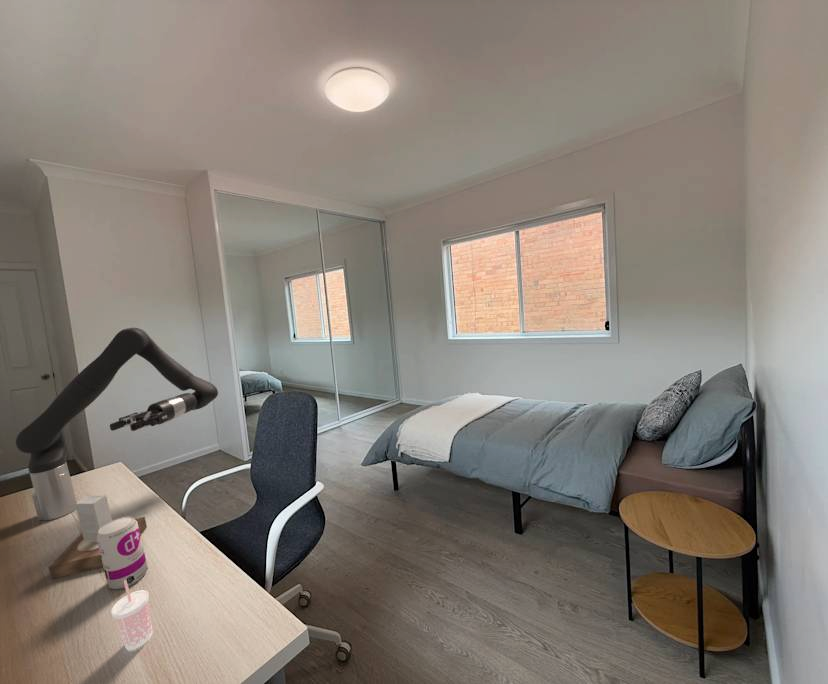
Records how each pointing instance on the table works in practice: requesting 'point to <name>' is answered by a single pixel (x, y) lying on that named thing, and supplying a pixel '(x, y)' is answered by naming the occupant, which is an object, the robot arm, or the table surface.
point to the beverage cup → (133, 618)
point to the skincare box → (93, 516)
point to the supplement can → (121, 552)
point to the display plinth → (82, 556)
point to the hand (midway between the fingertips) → (121, 427)
